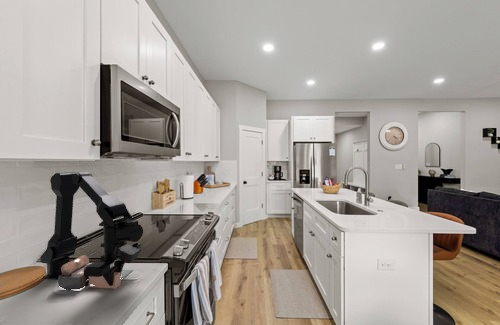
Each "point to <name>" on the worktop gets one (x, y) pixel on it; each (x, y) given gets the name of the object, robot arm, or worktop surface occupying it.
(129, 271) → the mat
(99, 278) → the salmon pink rectangular block
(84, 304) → the worktop surface
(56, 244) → the robot arm
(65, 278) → the dispenser
